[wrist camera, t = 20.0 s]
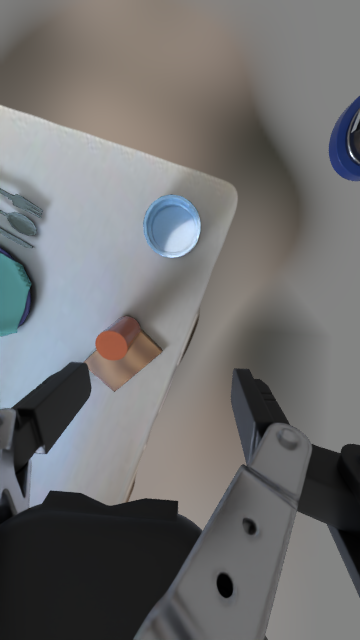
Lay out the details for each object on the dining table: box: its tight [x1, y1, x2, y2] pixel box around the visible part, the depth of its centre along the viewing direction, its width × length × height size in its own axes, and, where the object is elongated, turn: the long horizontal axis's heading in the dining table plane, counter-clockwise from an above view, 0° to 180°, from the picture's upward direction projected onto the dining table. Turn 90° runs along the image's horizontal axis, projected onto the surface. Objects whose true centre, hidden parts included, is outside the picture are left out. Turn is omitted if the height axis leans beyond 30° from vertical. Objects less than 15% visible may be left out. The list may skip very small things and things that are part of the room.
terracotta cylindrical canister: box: [95, 316, 140, 361], centre depth 38 cm, size 6×6×8 cm
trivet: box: [83, 328, 162, 392], centre depth 44 cm, size 16×10×1 cm, turn 133°
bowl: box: [143, 194, 201, 258], centre depth 34 cm, size 9×10×4 cm
